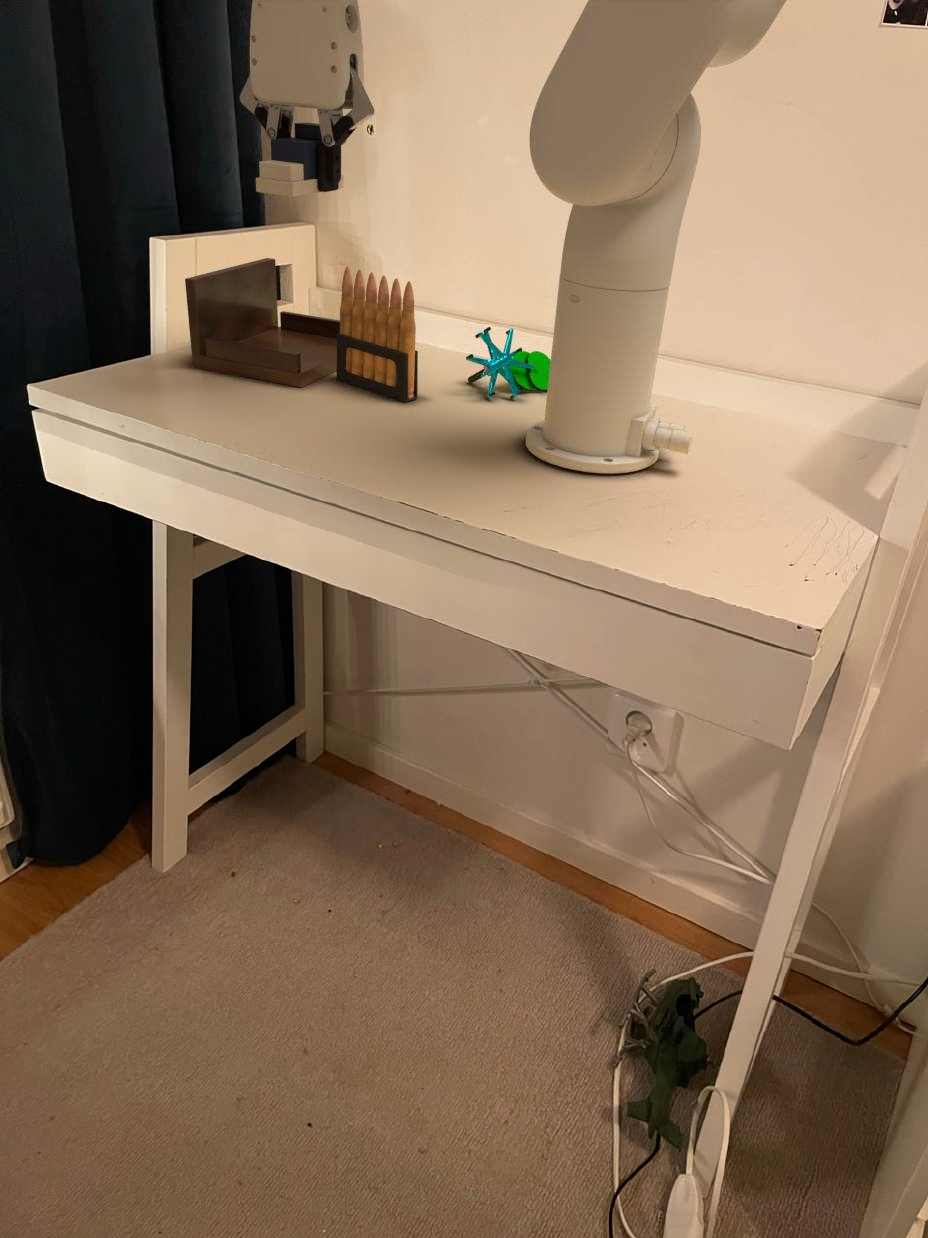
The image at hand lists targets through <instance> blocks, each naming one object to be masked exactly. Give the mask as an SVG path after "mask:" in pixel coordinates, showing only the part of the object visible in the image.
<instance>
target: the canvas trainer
mask: <svg viewBox="0 0 928 1238" xmlns="http://www.w3.org/2000/svg"><path fill="white" fill-rule="evenodd" d="M318 146H322V137H321V130H320V124H319V123H314V122H295V123H294V136H291V137H289V138H276V139H271V140H270V160H263V161H259V162H258V166H259V168H258V169H259V177H255V192H256V193H262V194H269V195H277V196H284V197H291V198H294V197H301V196H305V195H311V194H317V193H321V192H320V191H319V190H318V179H317V148H318ZM339 189H340V190H341V189H344V174H341V180H340V182H339V187H338V190H339Z"/></svg>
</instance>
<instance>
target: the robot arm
mask: <svg viewBox="0 0 928 1238" xmlns="http://www.w3.org/2000/svg"><path fill="white" fill-rule="evenodd" d="M786 2H787V0H587V2H586V4H585V6H584V8H583V10H582V12H581V13H580V16H579V18H578V19H577V21H576V23H575V25H574V27H573V28H572V30H571V32H570V34H569V36H568V38H567V40H566V42H565V44H564V46H563V47H562V50H561V51H560V53H559V55H558V57H557V59H556V61H555V63H554V64H553V67H552V68H551V71H550V72H549V74H548V76H547V78H546V80H545V83H544V84H543V87H542V88H541V91H540V93H539V95H538V98H537V101H536V102H535V107H534V109H533V112H532V115H531V116H532V117H531V121H530V127H529V137H528V138H529V139H528V141H529V151H530V160H531V162H532V165H533V168H534V171H535V174H536V175H537V177H538V179H539V181H540V182H541V184H542V185H543V186H544V187H545V188H546V190H547V191H548V192H549V193H550V194H551V195H553V196H555V197H556V198H557V199H559V200H561V201H562V202H565V203H568V204H571V205H572V206H571V210H570V213H569V217H568V221H567V226H566V230H565V235H564V240H563V247H562V253H561V254H562V256H561V262H560V272H559V279H558V288H557V298H556V307H555V315H554V316H555V317H554V324H553V334H552V335H553V336H552V344H551V354H550V360H551V362H550V372H549V381H548V389H547V390H546V391H547V392H546V399H545V410H544V419H543V420H542V421H539V422H537V423H535V424H533V425H532V426H530V427H529V428H528V429H527V431H526V434H525V446H526V448H527V450H528V452H530V453H531V454H532V455H533V456H535V457H537V458H538V459H540V460H541V461H544V462H545V463H548V464H551V465H553V466H556V467H560V468H564V469H568V470H571V471H578V472H584V473H593V474H626V473H632V472H637V471H640V470H644V469H646V468H649V467H651V466H652V465H654V463H656V462H657V460H658V458H659V452H660V449H665V450H668V451H670V452H674V453H680V454H685V455H689V454H690V452H691V448H692V444H693V441H694V432H690V431H685V429H686V426H685V425H682V424H678V423H668V422H663V421H661V418H658V417H657V416H656V415H657V410H658V409H657V408H658V404H654V403H651V399H652V394H653V387H654V382H655V375H656V370H657V365H658V364H657V363H658V357H659V356H658V355H659V350H660V346H661V339H662V334H663V333H662V332H663V327H664V320H665V314H666V308H667V303H668V296H669V290H670V286H671V280H672V275H673V270H674V264H675V263H674V262H675V257H676V251H677V246H678V241H679V236H680V232H681V227H682V222H683V219H684V213H685V212H686V211H685V210H686V207H687V203H688V199H689V196H690V192H691V189H692V186H693V185H692V184H693V181H694V178H695V173H696V169H697V166H698V162H699V156H700V151H701V143H702V124H701V115H700V112H699V108H698V105H697V102H696V100H695V98H694V96H693V94H692V91H693V89H694V88H695V86H696V85H697V83H698V81H700V79H701V77H702V75H703V74H704V72H705V70H706V69H707V68H718V67H723V66H728V65H730V64H733V63H734V62H738V61H739V60H741V59H743V58H744V57H746V56H747V55H748V54H749V53H751V52H752V50H754V49H755V48H756V47H758V45H759V43H760V42H761V41H762V39H763V38H764V37H765V35H766V34H767V32H768V31H769V30H770V28H771V26H772V25H773V23H774V22H775V20H776V19H777V17H778V15H779V13H780V12H781V10H782V9H783V7H784V5H785V4H786ZM359 8H360V7H359V2H358V0H252V2H251V12H250V30H249V75H248V77H247V80H246V81H245V84H244V86H243V88H242V90H241V92H240V95H239V101H240V103H241V104H242V105H243V106H244V107H245V108H246V109H247V110H248V112H250V113H252V115H254V116H255V118H256V120H257V121H258V122H259V124H260V126H262V128H263V129H264V130H265V136H266V138H267V139H268V140H270V141H271V139H276V138H289V137H292V130H293V125H294V124H293V123H294V116H295V108H296V107H297V108H304V109H305V108H307V109H315V110H316V112H317V119H318V124H320V130H321V137H322V146H318V148H317V179H318V190H319V191H320V192H319V193H328V192H329V193H330V192H333V191H338V190H339V189H338V187H339V182H340V180H341V175H342V147H343V146H344V145H346V143H347V141H348V139H349V138H350V136H351V135H352V134H353V133H354V132H355V131H356V130H357V129H358V127H360V125H361V126H362V124H364V123H365V122H366V121H368V120H370V119H371V118H373V116H375V108H374V106H373V103H372V101H371V99H370V97H369V95H368V93H367V90H366V89H365V66H364V65H365V64H364V63H365V61H364V46H363V31H362V24H361V14H360V9H359ZM267 104H268V105H267ZM343 110H350V111H348V112H347V113H346V114H345V115H344V111H343Z"/></svg>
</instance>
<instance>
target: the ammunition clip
mask: <svg viewBox="0 0 928 1238" xmlns="http://www.w3.org/2000/svg"><path fill="white" fill-rule="evenodd" d="M351 272H352V271H351V270H350V267H349V266H346V267H345V269H344V272H343V276H342V282H341V302H340V308H339V320H340V333H338V334H337V370H336V374H335V375H336V377H335V378H336V381H338V382H339V381H340V382H342V383H345V384H348V385H351V386H354V387H358V388H360V389H363V390H366V391H370V392H373V393H375V394H379V395H382V396H384V397H388V398H391V399H393V400H397V401H400V402H403V403H407V402H410V401H415V400H417V399H418V398H419V384H418V383H419V377H418V375H419V373H418V371H419V370H418V369H419V366H418V365H419V363H418V362H419V350H417V349H416V332H417V331H416V329H417V328H416V327H417V325H416V319H415V295H414V294H415V293H414V289H413V286H412V283H411V281H410V280H409V281H407V282H406V284H405V287H404V291H403V297H402V290H401V284H400V282H399V279H398V278H395V279H394V280H393V283H392V286H391V291H390V290H389V283H388V279H387V278H386V276H385V275H382V277H381V279H380V282H379V285H378V287H377V282H376V277H375V275H374V273H373V272H370V273H369V275H368V279H367V283H366V289H365V279H364V275H363V273H362V272H363V271H362V270H361V269H358V270H357V272H356V275H355V279H354V281H353V277H352V273H351ZM353 282H354V285H353Z"/></svg>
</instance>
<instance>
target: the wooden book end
mask: <svg viewBox="0 0 928 1238" xmlns="http://www.w3.org/2000/svg"><path fill="white" fill-rule="evenodd" d="M276 267H277V265H276V258H271V257H265V258H261V259H258V260H254V261H250V262H249V261H248V262H246V263H241V264H238V265H233V266H229V267H226V268H221V269H219V270H214V271H210V272H206V273H202V274H197V275H194V276H190V277H186V278H184V284H185V285H184V286H185V294H186V305H187V307H186V308H187V317H188V318H187V319H188V328H189V339H190V340H189V341H190V350H191V359H192V360H191V361H192V367H193V368H196V369H202V370H207V371H212V372H218V373H222V374H228V375H234V376H239V377H244V378H250V379H255V380H258V381H264V382H270V383H274V384H280V385H285V386H291V387H296V388H304V387H305V386H307V385H310V384H312V383H313V382H315V381H318V380H320V379H322V378H324V377H326V376H328V375H330V374H332V373H334V372H337V334H338V333H340V319H334V318H327V317H320V316H315V315H309V314H305V313H304V314H303V313H297V312H291V311H285V310H283V311H280V312H278V290H277V268H276ZM278 313H279V314H278ZM279 315H280V316H279ZM279 320H280V321H279ZM279 322H280V326H279Z"/></svg>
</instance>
